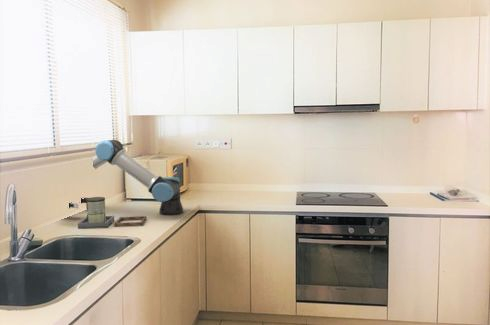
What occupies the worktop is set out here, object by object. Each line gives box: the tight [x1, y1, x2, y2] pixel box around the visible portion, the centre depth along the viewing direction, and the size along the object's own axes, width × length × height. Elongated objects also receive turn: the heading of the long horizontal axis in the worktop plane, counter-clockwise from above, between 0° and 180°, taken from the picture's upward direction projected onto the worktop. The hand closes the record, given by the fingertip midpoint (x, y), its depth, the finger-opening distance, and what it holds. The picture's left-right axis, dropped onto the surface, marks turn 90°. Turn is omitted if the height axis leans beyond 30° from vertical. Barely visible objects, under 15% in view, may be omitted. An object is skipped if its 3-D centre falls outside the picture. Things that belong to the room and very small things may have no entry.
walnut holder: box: [113, 215, 148, 228], centre depth 237 cm, size 15×15×2 cm
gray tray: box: [77, 215, 115, 230], centre depth 235 cm, size 16×16×3 cm
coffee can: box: [85, 196, 107, 223], centre depth 234 cm, size 10×10×14 cm
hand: (88, 204), depth 237 cm, fingers open, 13 cm apart
